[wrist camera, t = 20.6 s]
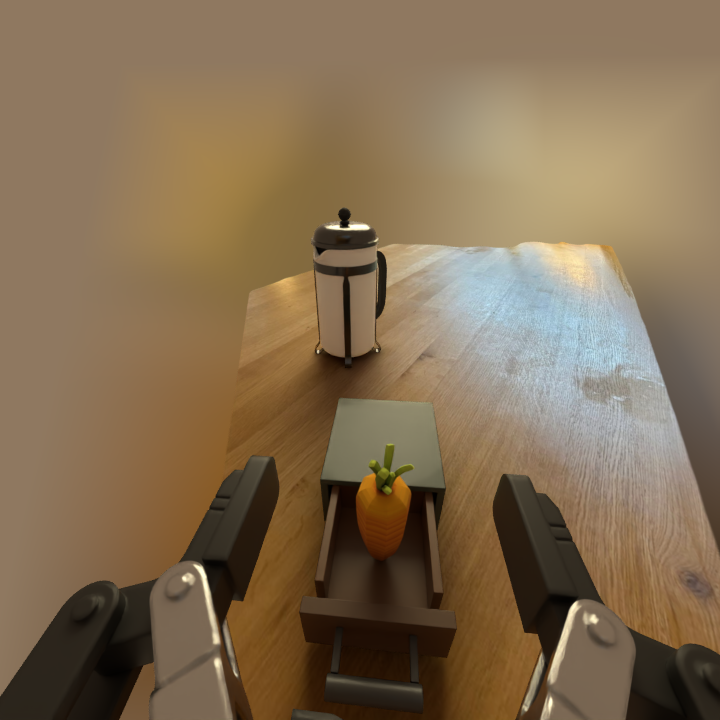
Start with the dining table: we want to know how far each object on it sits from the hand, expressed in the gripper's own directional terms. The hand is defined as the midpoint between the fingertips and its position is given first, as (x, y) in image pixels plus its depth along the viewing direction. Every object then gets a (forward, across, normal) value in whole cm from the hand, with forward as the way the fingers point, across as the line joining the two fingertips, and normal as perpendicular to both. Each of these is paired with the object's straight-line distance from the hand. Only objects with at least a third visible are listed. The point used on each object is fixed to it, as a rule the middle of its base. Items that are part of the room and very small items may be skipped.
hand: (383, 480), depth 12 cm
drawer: (+8, 0, +27) cm, 28 cm away
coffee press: (+58, +8, +28) cm, 65 cm away
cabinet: (+23, 0, +28) cm, 36 cm away
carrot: (+11, 0, +26) cm, 28 cm away
